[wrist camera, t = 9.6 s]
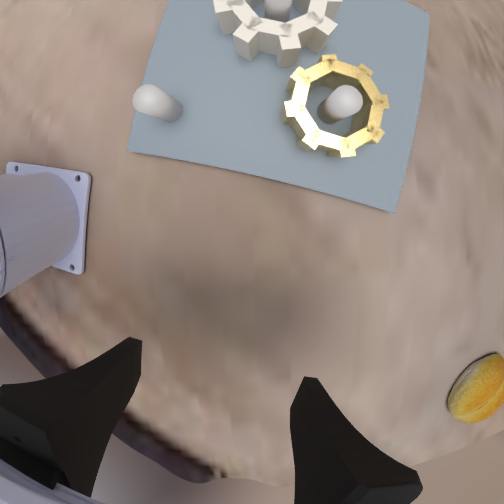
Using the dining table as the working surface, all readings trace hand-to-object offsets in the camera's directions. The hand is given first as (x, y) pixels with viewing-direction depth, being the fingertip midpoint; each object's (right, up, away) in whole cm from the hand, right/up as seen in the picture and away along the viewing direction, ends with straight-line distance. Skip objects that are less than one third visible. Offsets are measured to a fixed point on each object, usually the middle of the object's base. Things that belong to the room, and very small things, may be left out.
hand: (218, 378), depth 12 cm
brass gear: (+6, +14, +5) cm, 16 cm away
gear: (+3, +20, +3) cm, 20 cm away
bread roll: (+27, -9, +13) cm, 31 cm away
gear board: (+4, +18, +5) cm, 19 cm away
